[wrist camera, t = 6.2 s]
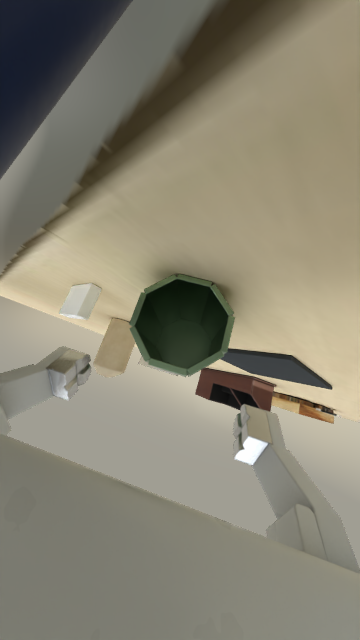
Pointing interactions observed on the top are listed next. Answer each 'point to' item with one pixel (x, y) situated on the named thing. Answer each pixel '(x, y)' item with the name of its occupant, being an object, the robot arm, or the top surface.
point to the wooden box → (303, 407)
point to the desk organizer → (235, 389)
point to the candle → (114, 349)
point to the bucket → (182, 324)
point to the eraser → (80, 301)
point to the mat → (274, 367)
